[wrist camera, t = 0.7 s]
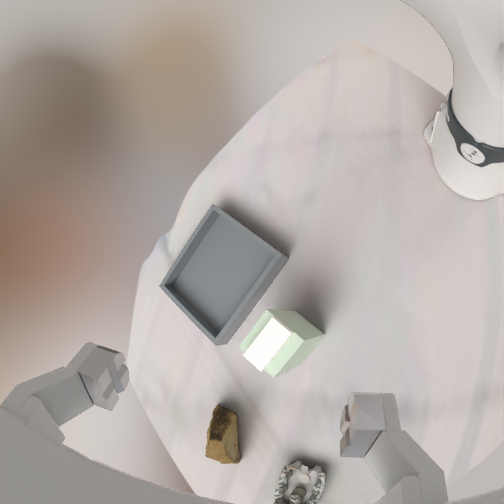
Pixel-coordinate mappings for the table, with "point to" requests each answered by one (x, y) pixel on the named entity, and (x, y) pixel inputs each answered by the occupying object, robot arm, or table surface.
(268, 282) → the tray
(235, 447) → the rock
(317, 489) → the grey carved figurine
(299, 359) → the juice carton
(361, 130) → the table surface
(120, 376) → the robot arm
